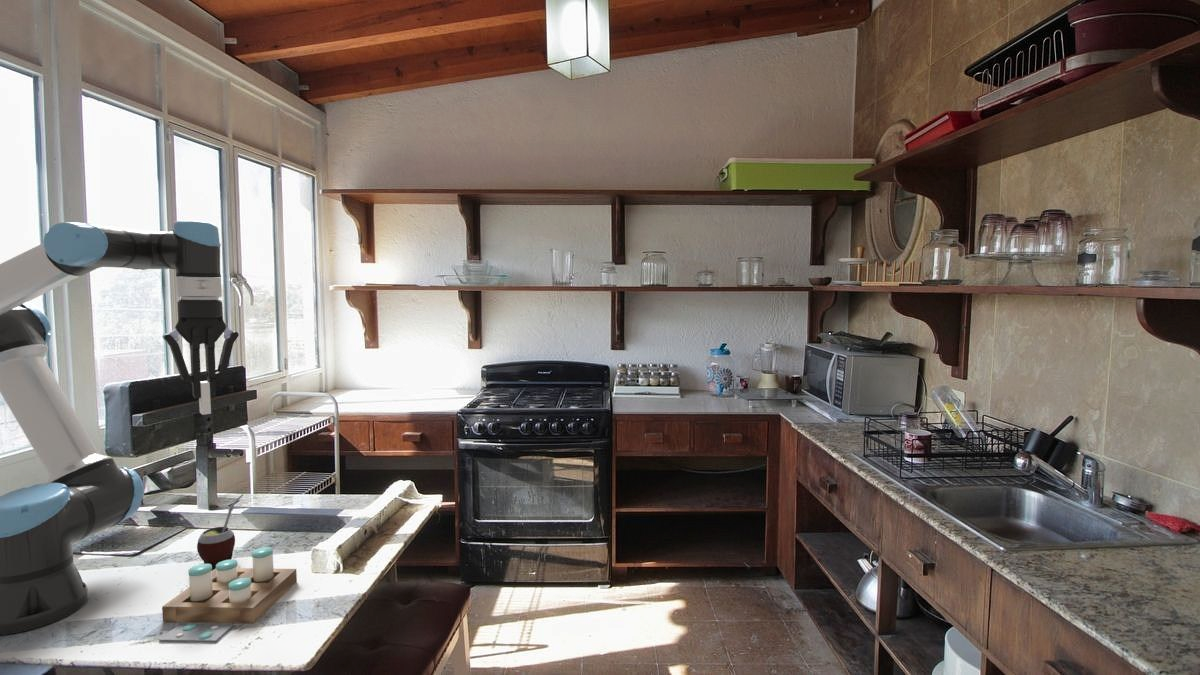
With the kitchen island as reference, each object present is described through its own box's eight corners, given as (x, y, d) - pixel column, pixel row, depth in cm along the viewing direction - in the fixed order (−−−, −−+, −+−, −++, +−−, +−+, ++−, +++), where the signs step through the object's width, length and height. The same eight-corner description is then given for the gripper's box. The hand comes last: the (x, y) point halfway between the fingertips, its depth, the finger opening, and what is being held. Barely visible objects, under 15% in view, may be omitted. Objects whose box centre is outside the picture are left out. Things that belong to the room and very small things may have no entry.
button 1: (185, 601, 109) (183, 572, 108) (198, 591, 112) (197, 563, 112) (204, 601, 108) (203, 573, 108) (217, 591, 112) (216, 563, 112)
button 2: (212, 594, 116) (211, 567, 116) (224, 585, 120) (223, 559, 119) (230, 594, 116) (229, 568, 116) (242, 585, 120) (241, 559, 119)
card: (159, 641, 101) (159, 638, 101) (180, 625, 106) (180, 622, 106) (215, 642, 101) (215, 639, 101) (234, 626, 106) (234, 623, 106)
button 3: (225, 615, 109) (223, 587, 108) (237, 605, 112) (236, 577, 112) (244, 616, 109) (243, 587, 108) (256, 605, 112) (255, 577, 112)
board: (162, 622, 107) (162, 606, 107) (217, 581, 122) (216, 567, 122) (253, 623, 107) (253, 607, 107) (296, 582, 122) (296, 568, 121)
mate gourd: (190, 573, 125) (187, 506, 124) (213, 556, 133) (211, 493, 132) (225, 573, 126) (222, 506, 124) (246, 556, 133) (244, 493, 132)
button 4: (249, 581, 116) (247, 555, 115) (259, 572, 120) (258, 546, 119) (267, 582, 116) (266, 555, 115) (277, 573, 120) (276, 547, 119)
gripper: (163, 299, 109) (169, 420, 111) (241, 298, 118) (246, 411, 120) (157, 298, 115) (163, 414, 117) (232, 298, 124) (237, 406, 126)
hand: (205, 413), depth 118 cm, fingers closed
